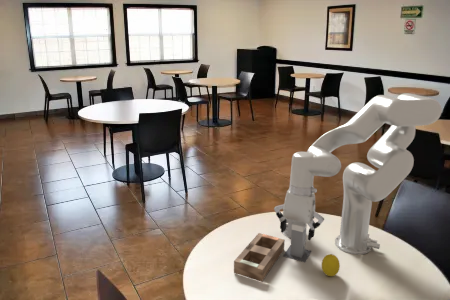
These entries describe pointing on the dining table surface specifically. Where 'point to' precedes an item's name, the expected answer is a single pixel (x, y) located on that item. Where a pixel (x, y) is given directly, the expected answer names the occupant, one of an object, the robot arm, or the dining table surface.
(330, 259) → the lemon
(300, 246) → the plug
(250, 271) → the socket block
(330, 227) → the dining table surface
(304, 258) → the mat
